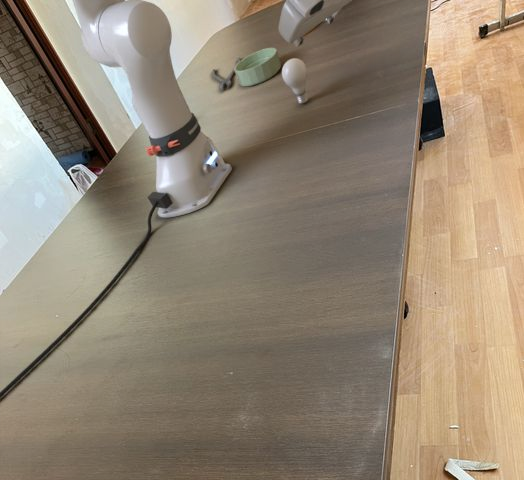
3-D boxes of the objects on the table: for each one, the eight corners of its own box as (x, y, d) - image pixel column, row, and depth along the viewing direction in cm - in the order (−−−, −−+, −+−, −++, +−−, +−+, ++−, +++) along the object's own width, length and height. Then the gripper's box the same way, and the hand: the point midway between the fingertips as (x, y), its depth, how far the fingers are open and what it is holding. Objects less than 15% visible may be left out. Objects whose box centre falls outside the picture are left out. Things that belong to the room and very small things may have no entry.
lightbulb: (309, 94, 132) (296, 51, 124) (319, 99, 127) (306, 55, 120) (288, 106, 132) (274, 64, 124) (298, 111, 127) (283, 68, 120)
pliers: (239, 56, 175) (240, 80, 157) (240, 59, 175) (241, 82, 158) (212, 69, 177) (209, 93, 160) (213, 71, 178) (211, 96, 161)
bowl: (277, 78, 149) (271, 61, 145) (236, 92, 154) (229, 76, 151) (285, 59, 157) (280, 42, 154) (245, 73, 163) (239, 57, 160)
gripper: (357, -61, 97) (337, -3, 111) (279, -8, 94) (269, 45, 107) (377, -37, 97) (356, 19, 111) (300, 17, 94) (288, 67, 107)
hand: (312, 32), depth 109 cm, fingers open, 8 cm apart
